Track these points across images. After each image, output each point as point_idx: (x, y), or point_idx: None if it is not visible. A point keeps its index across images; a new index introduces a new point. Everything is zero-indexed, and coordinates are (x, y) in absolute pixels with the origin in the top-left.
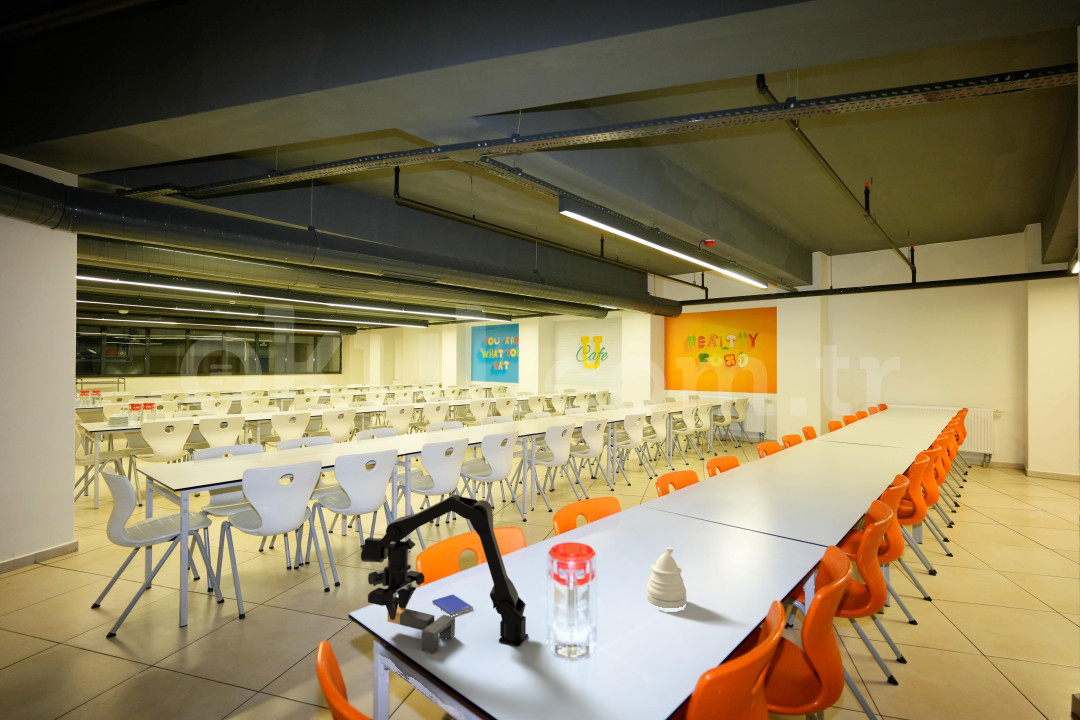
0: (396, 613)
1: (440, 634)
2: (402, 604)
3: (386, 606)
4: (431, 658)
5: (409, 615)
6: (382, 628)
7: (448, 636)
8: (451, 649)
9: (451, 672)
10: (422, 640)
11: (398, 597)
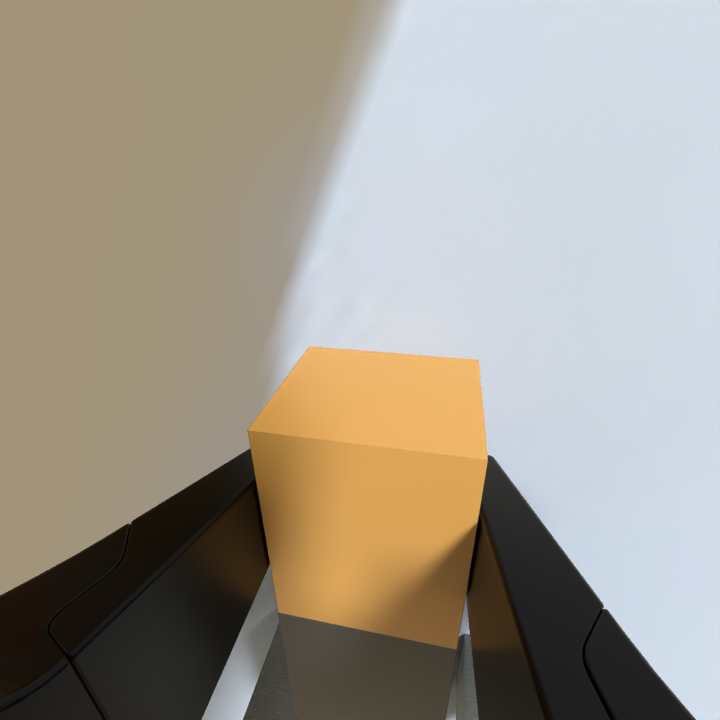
0: (274, 566)
1: (464, 660)
2: (481, 631)
3: (65, 573)
4: (260, 646)
5: (308, 697)
6: (417, 164)
7: (458, 694)
8: None
9: (230, 712)
10: (264, 664)
11: (543, 709)
